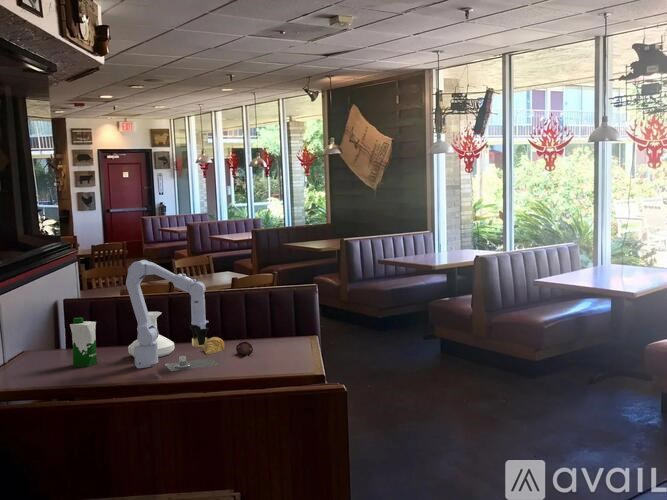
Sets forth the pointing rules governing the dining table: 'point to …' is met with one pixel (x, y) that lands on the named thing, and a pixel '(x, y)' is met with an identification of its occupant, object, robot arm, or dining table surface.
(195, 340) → the ring
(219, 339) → the croissant
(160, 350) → the candle holder
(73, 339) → the milk carton
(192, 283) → the robot arm
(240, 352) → the icecream
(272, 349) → the dining table surface
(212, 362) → the block
